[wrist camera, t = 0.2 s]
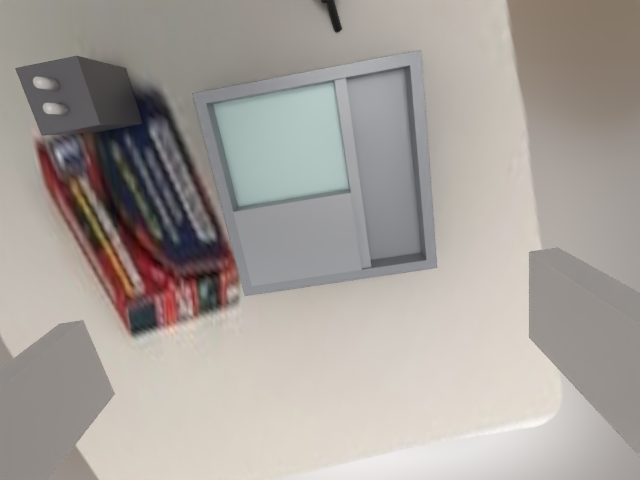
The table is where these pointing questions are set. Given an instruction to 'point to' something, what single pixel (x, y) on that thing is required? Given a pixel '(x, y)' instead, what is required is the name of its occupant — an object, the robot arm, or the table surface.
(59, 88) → the connector
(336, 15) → the power plug
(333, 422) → the table surface
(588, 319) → the robot arm
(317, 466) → the table surface
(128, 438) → the table surface
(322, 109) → the walled box
